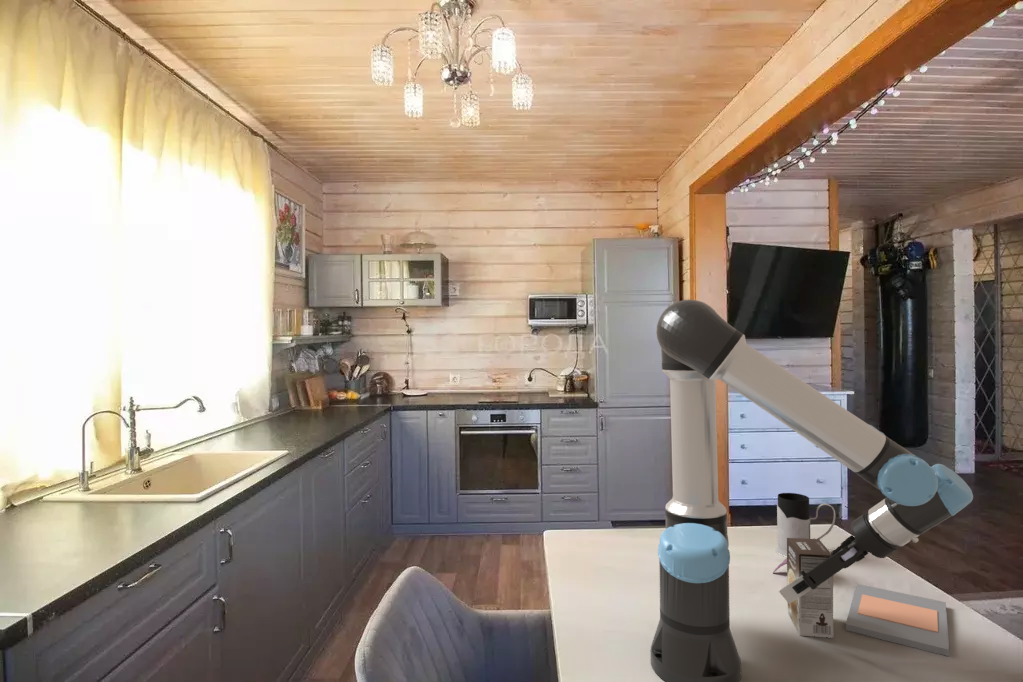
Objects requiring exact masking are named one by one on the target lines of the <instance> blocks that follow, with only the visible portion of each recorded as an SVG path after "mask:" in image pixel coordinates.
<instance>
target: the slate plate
mask: <svg viewBox="0 0 1023 682" xmlns="http://www.w3.org/2000/svg"><path fill="white" fill-rule="evenodd" d="M850 603H851V604H850V607H849V611H848V614H847V619H846V622H845V631H848V632H851V633H856V634H860V635H863V636H866V637H871V638H876V639H879V640H882V641H883V640H884V641H888V642H892V643H895V644H899V645H903V646H907V647H910V648H914V649H918V650H922V651H926V652H931V653H935V654H938V655H943V656H947V657H950V644H949V633H948V632H949V630H948V614H947V602H946V601H942V600H936V599H932V598H928V597H922V596H918V595H913V594H908V593H904V592H899V591H893V590H890V589H884V588H880V587H874V586H871V585H867V584H861V583H856V585H855V589H854V593H853V596H852V600H851V602H850Z"/></svg>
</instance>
